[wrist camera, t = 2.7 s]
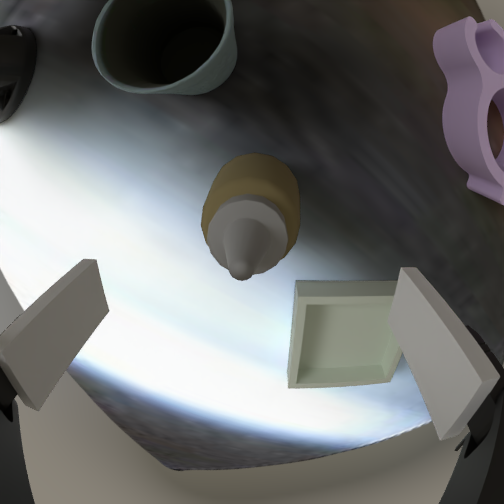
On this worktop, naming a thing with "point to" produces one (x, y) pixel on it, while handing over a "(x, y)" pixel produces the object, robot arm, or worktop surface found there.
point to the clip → (473, 99)
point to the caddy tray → (342, 334)
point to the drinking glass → (165, 45)
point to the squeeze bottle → (251, 214)
